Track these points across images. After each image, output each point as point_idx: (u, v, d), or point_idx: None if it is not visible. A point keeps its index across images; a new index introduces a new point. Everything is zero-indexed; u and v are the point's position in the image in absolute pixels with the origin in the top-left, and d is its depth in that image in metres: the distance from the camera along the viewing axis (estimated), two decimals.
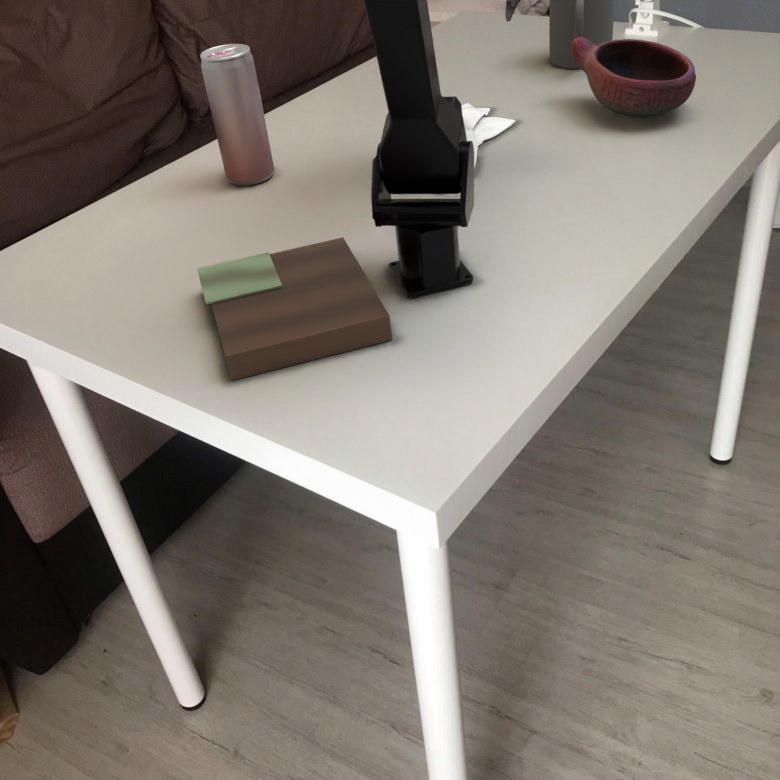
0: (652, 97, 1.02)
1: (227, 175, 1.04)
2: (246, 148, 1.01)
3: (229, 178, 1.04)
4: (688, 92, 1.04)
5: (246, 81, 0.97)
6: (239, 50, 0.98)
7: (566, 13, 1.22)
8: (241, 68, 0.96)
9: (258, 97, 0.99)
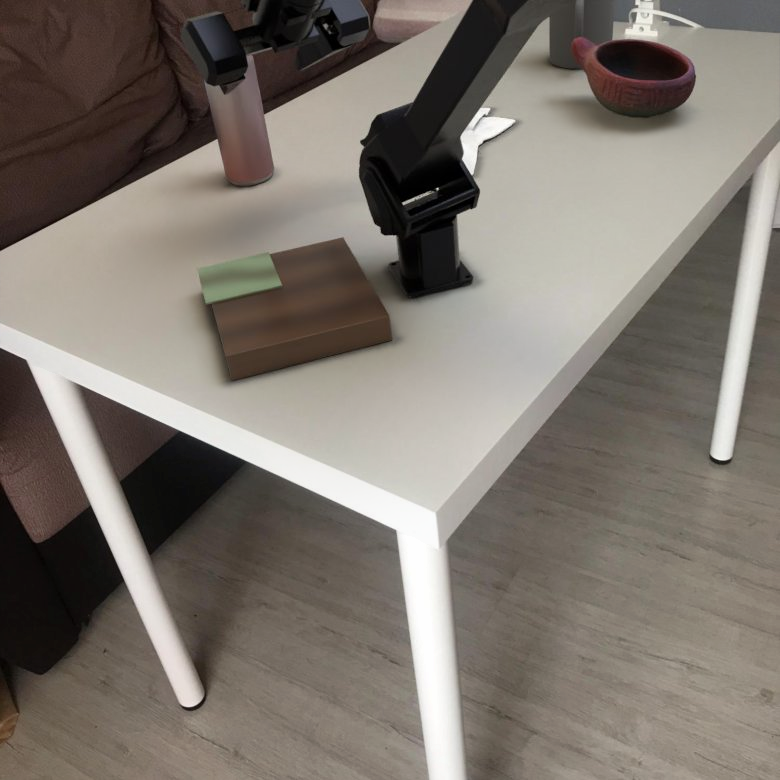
0: (652, 97, 1.02)
1: (227, 175, 1.04)
2: (246, 148, 1.01)
3: (229, 178, 1.04)
4: (688, 92, 1.04)
5: (246, 81, 0.97)
6: None
7: (566, 13, 1.22)
8: None
9: (258, 97, 0.99)
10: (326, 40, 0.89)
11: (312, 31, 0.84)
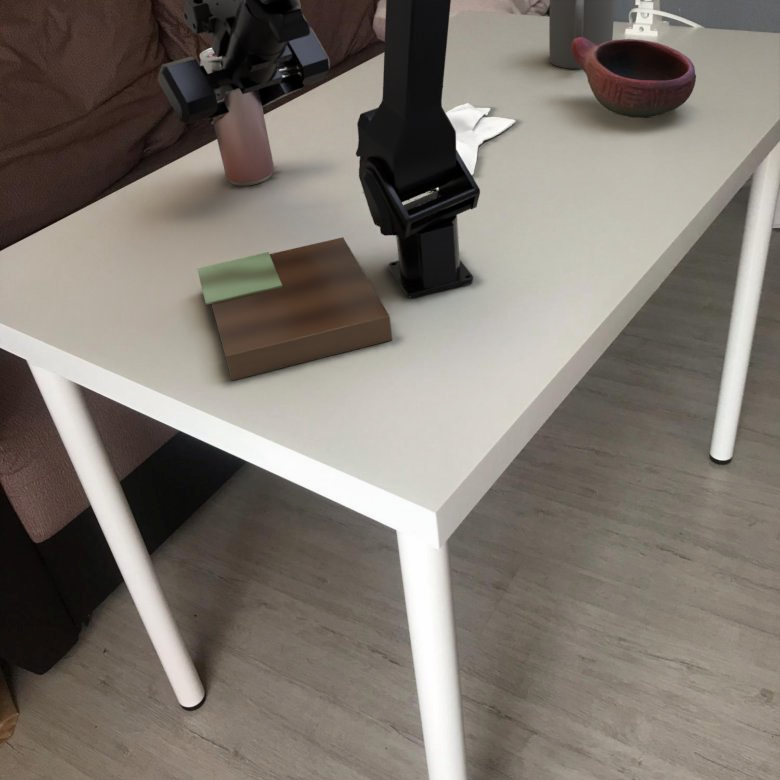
0: (652, 97, 1.02)
1: (227, 175, 1.04)
2: (246, 148, 1.01)
3: (229, 178, 1.04)
4: (688, 92, 1.04)
5: None
6: None
7: (566, 13, 1.22)
8: None
9: (258, 97, 0.99)
10: (279, 83, 0.98)
11: (276, 74, 0.94)
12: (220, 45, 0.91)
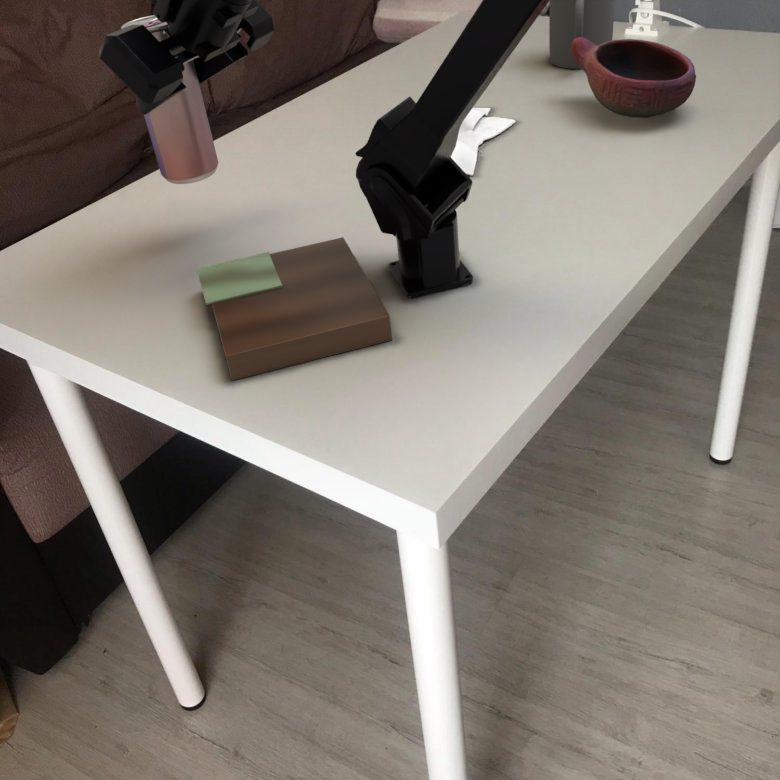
0: (652, 97, 1.02)
1: (169, 174, 0.87)
2: (194, 135, 0.85)
3: (173, 177, 0.87)
4: (688, 92, 1.04)
5: None
6: None
7: (566, 13, 1.22)
8: None
9: (196, 73, 0.84)
10: (223, 52, 0.83)
11: (232, 35, 0.80)
12: (169, 5, 0.75)
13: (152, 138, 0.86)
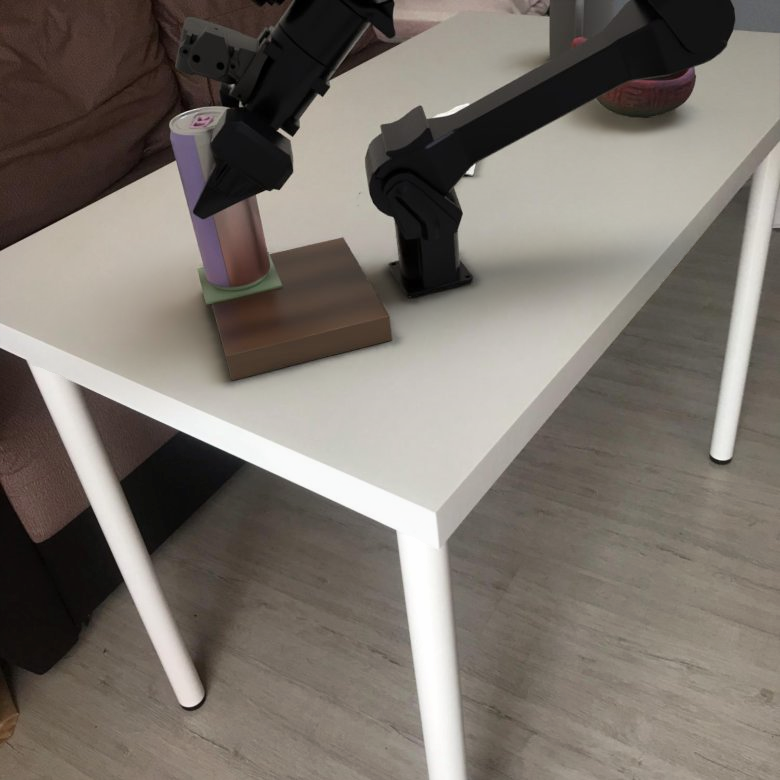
0: (652, 97, 1.02)
1: (234, 281, 0.77)
2: (259, 232, 0.77)
3: (239, 283, 0.77)
4: (688, 92, 1.04)
5: None
6: (205, 115, 0.73)
7: (566, 13, 1.22)
8: None
9: None
10: None
11: None
12: (255, 82, 0.67)
13: (213, 246, 0.75)
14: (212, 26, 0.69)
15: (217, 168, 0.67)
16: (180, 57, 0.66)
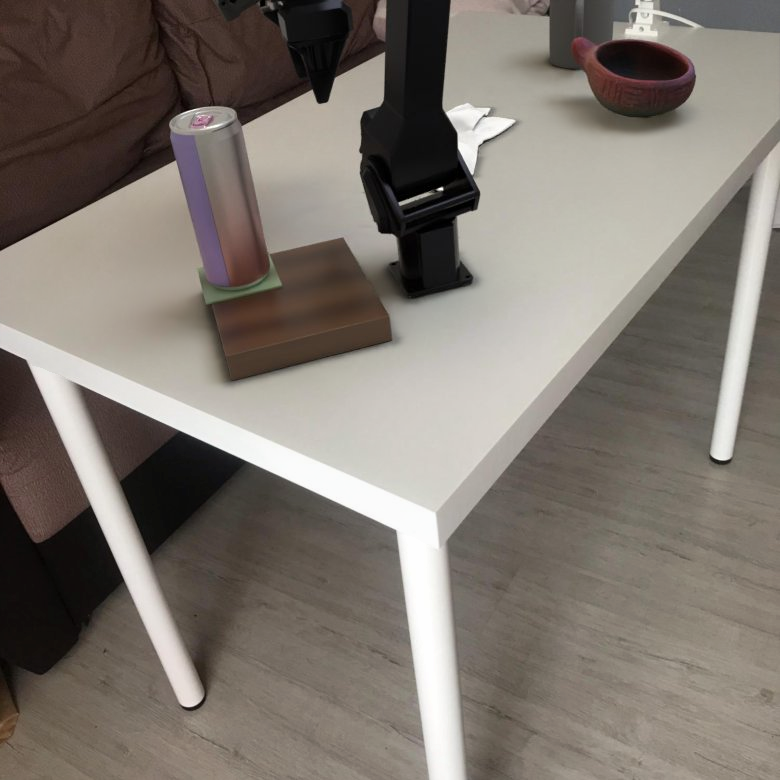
0: (652, 97, 1.02)
1: (234, 281, 0.77)
2: (259, 232, 0.77)
3: (239, 283, 0.77)
4: (688, 92, 1.04)
5: None
6: (205, 115, 0.73)
7: (566, 13, 1.22)
8: None
9: None
10: None
11: None
12: None
13: (213, 246, 0.75)
14: None
15: (306, 57, 0.81)
16: (223, 11, 0.81)
